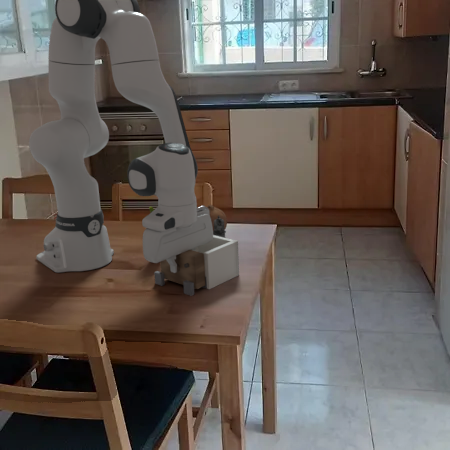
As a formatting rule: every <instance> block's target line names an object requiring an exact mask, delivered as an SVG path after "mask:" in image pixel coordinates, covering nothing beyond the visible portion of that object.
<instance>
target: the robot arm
mask: <svg viewBox="0 0 450 450" xmlns="http://www.w3.org/2000/svg"><path fill="white" fill-rule="evenodd" d="M54 13H55V16H56V17H55V19H54V20H53V21H52V25H51V30H50V35H49V42H48V43H49V44H48V57H47V58H48V92H49V96H51V97H52V98H53V99H54V100H56V103H57V105H58V109H59V112H60V119H56V120H52V121H48V122H46V123H44V124H41V125H40V126H38V127H37V128H35V129H34V130H33V131H32V132H31V134H30V136H29V139H28V147H29V152H30V154H31V156H32V158H33V159H34V160H35V161H36V162H37V163H38V164H40V165H42V167H43V168H44V169H45V170H46V172H47V173H48V175H49V177H50V180H51V182H52V185H53V191H54V195H55V200H56V201H55V202H56V208H57V213H55V214H53V216H55V217H53V219H54V220H55V226H54V228H53V229H52V230H51V231H50V232H49V233H48V234H47V235H46V236H44V240H43V249H44V251H41V252H40V253H38V254H37V255H36V260H37V261H39V262H40V263H41V264H43V265H44V266H46V267H47V268H49V269H50V271H51V270H52V271H53V272H55V273H65V272H84V271H91V270H95V269H100V268H103V267H105V266H107V265H108V264H109V263H111V261H112V260H113V255H114V253H115V251H114V249H113V248H111V245H110V239H109V234H108V233H109V232H108V230H107V226H105V225H104V217H105V216H104V213H103V209H101V199H100V193H99V182H98V181H97V179H95V178H94V177H93V176H92V175H90V173H89V171H88V168H87V167H86V163H85V159H86V158H89V157H91V156H94V155H96V154H98V153H99V152H100V151H101V150H102V149H104V148H105V147H106V146H107V144H108V142H109V139H110V131H109V129H108V125H107V124H106V122H105V121H104V120H103V119H102V118H101V115H100V113H99V108H98V105H97V101H96V95H95V94H96V92H95V91H96V90H95V89H96V88H95V87H96V85H95V84H96V81H95V79H96V77H95V76H96V46H97V43H98V41H99V40H100V39H102V40H103V41H105V43H106V45H107V48H108V51H109V58H110V65H111V66H110V67H111V73H112V79H113V82H114V87H115V88H116V90H117V91H118V93H119V94H120V95H121V96H123V98H125V99H126V100H128V101H130V102H131V103H134V104H137V105H140V106H142V107H145V108H147V109H149V110H151V111H152V112H153V113H154V114H155V115H156V116H157V118H158V121H159V124H160V128H161V130H162V134H163V135H162V136H163V138H164V143H161V144H159V145H158V146H157V147H156V148H155V150H154V151H151V152H150V153H147V154H145V155H142V156H139V157H135V158H134V159H132V160H131V162H130V163H129V165H128V167H127V176H126V177H127V181H128V185H129V187H130V189H131V190H132V191H133V192H134V193H135V194H136V195H138V196H140V197H151V196H152V197H153V196H156V197H157V198H158V201H157V202H158V206H156V208H154V211H152V212H150V213H149V214H147V215H146V216H145V217H144V218H143V219H142V227H143V228H144V231H143V233H142V253H143V257H144V259H145V260H146V261H148V262H150V263H154V264H159V263H160V262H161V261H163V260H167V262H168V263H169V265H170V270H171V272H173V273H176V272H178V271H180V265H179V264H176V262H175V259H176V255H178V254H181V253H183V252H185V251H188V250H193V251H196V247H198V246H201V245H203V244H206V243H208V242H211V241H212V239H213V227H212V222H211V218H210V213H209V209H208V208H207V207H208V206H205V205H201V206H197V205H198V203H197V197H196V194H195V186H196V180H197V176H198V171H199V169H198V168H199V166H198V162H197V160H196V158H195V155H194V153H193V152H194V151H192V148H191V145H190V141H189V138H188V134H187V130H186V127H185V123H184V118H183V114H182V110H181V108H180V104H179V100H178V97H177V95H176V91H175V90H174V88H173V87H172V86H171V85H170V84H168V82H167V81H166V79H165V76H164V74H163V71H162V69H161V62H160V57H159V50H158V45H157V42H156V37H155V34H154V31H153V27H152V24H151V21H150V20H149V18H148V17H147V16H146V15H144V14H142V13H141V8H140V5H139V2H138V0H55V3H54ZM205 208H206V209H205Z"/></svg>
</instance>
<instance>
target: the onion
mask: <svg viewBox="0 0 450 450" xmlns="http://www.w3.org/2000/svg"><path fill="white" fill-rule="evenodd" d="M206 207H207V208H208V209H209V213H210V218H211V222H212V227H213V231H214V220H216V219H217V218H218V215H219V216H220V218H221V219H223V220H224V230H225V231H226V228H227V227H228V226H227V224H228V219H227V215H226V214H225V212H224V211H223V210H222V209H220V208H218V207H217V206H214V205H212V204H211V203H210V204H209V205H208V206H206ZM205 209H206V208H205ZM213 235H214V234H213Z"/></svg>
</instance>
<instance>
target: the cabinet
mask: <svg viewBox="0 0 450 450" xmlns="http://www.w3.org/2000/svg"><path fill="white" fill-rule="evenodd" d="M196 251H197V252H200V253H204V267H205V286H203V287H202V288H204V289H206V290H211V289H213V288H215V287H217V286H219V285H221V284H223V283H226V282H228V281H229V280H231V279H234V278H236V277H238V276H240V267H239V265H240V262H239V260H240V259H239V257H240V256H239V241H238V240H235V239H230V238H228V237H225V238H223V237H219V236H215V235H213V239H212V241H211V242H208V243H206V244H203V245H201V246H198V247H196ZM153 273H154V274H153V275H154V282H155V285H159V286H161V287H163V286H165V285H166V282H165V281H166V279H164V273H162V272H161V271H158V270H156V271H154V272H153ZM182 286H183V294H185V295H187V296H190V297H192V296H194V295H195V289H194V283H193V282H190V281H187V280H186V281H183V285H182Z"/></svg>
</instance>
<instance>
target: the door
mask: <svg viewBox="0 0 450 450" xmlns="http://www.w3.org/2000/svg"><path fill="white" fill-rule="evenodd" d="M175 262H176V264H179V265H180V271H178V272H176V273H173V272H171V270H170V265H169V263H168V262H167V260H163V261H161V262H159V264H160V272H162V273H164V280H168V281H171V282H173V283H177V284H180V285H182V286H184V285H183V281H186V280H187V281H190V282H193V283H194V290H198V289H201V288H203V286H205V267H204V253H200V252H197V251H193V250H188V251H185V252H183V253H181V254H178V255H176V259H175Z"/></svg>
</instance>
